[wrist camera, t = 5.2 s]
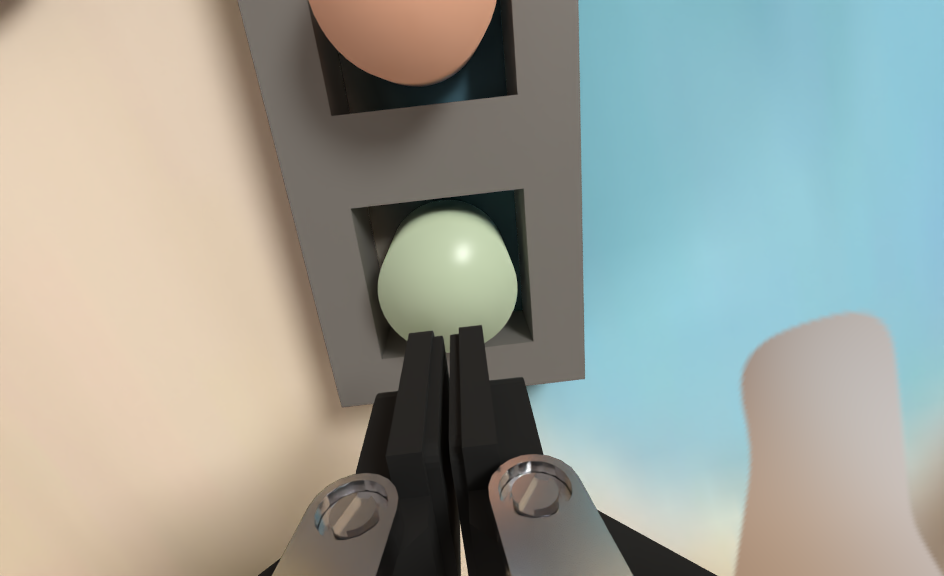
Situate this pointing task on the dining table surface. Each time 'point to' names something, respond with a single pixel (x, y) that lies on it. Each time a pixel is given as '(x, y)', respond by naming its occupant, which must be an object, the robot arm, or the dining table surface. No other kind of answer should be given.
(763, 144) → the dining table surface
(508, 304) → the sage button
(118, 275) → the dining table surface
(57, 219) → the dining table surface
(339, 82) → the button panel
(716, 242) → the dining table surface
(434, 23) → the peach rounded dome
